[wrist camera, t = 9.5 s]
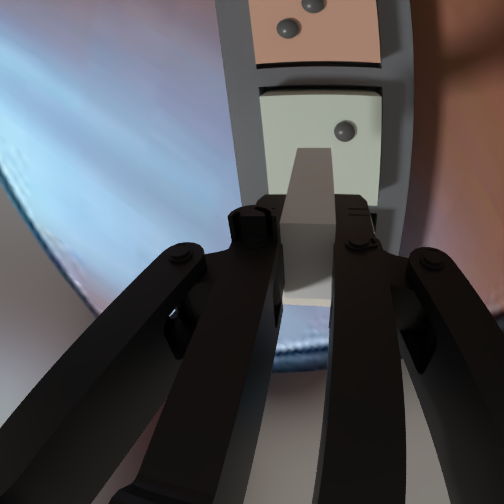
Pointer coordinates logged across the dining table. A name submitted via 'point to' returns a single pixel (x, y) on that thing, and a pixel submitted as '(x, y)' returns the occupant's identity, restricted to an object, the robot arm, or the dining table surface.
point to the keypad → (325, 76)
